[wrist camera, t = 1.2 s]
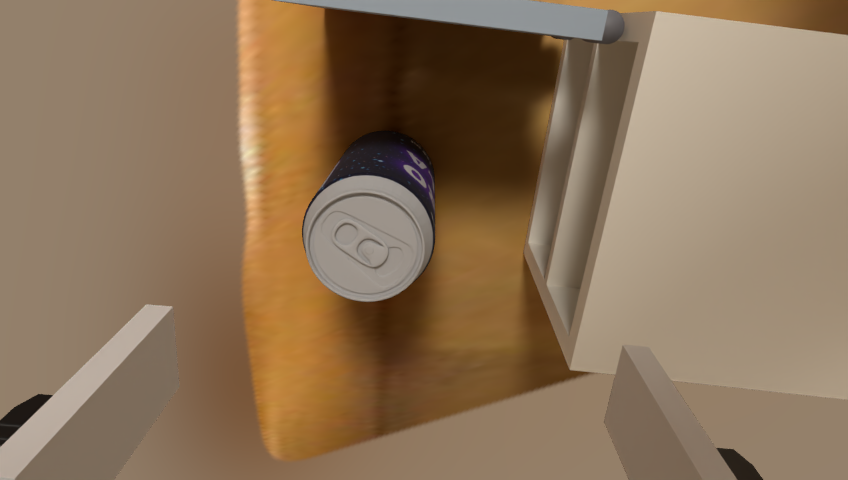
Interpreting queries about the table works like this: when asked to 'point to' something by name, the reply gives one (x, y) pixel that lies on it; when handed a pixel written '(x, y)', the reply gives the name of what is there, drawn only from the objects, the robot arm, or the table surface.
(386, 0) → the door
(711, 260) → the cabinet
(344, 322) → the table surface
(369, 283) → the beverage can
